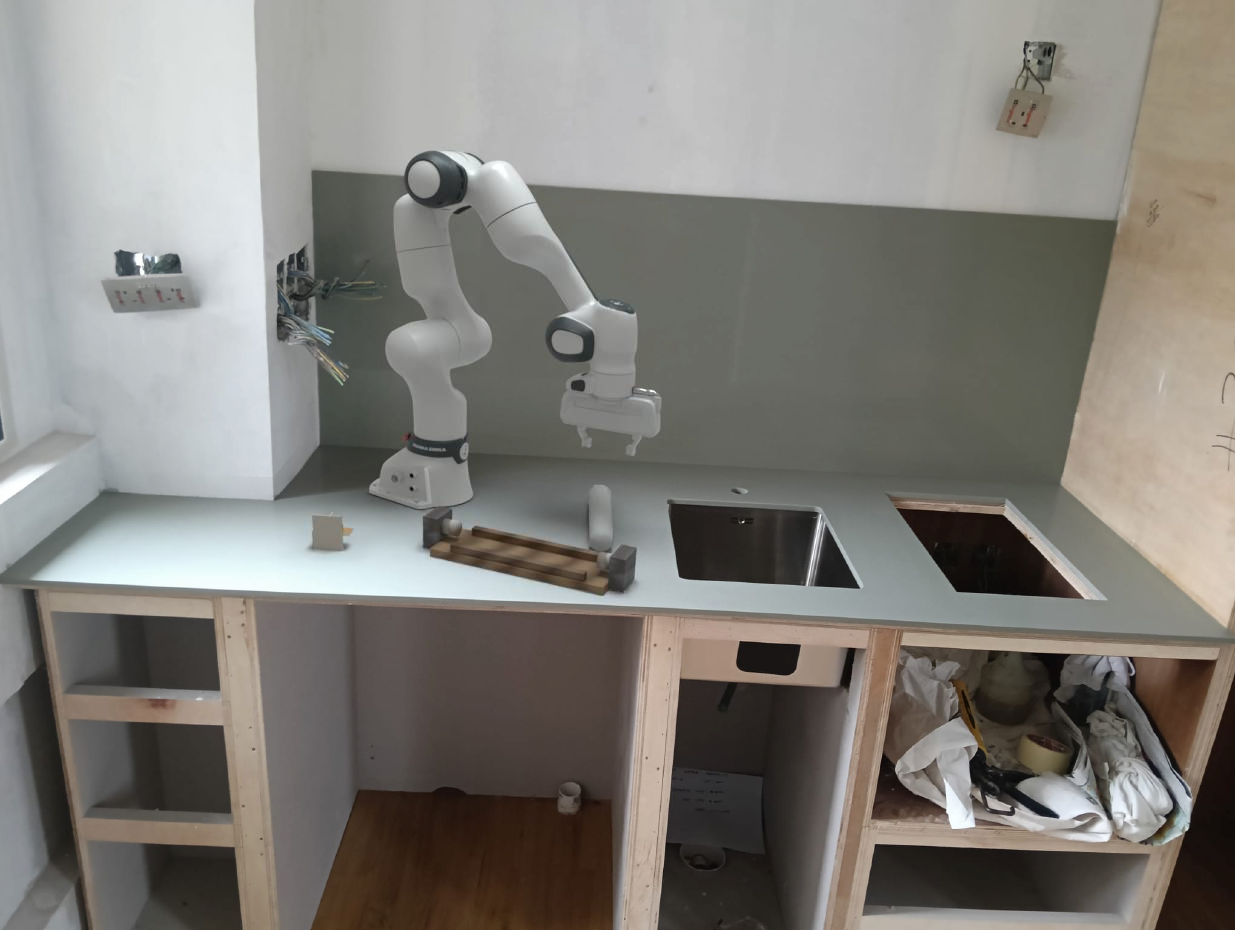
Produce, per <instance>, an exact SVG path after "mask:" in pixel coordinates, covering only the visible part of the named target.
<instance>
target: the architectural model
mask: <svg viewBox="0 0 1235 930" xmlns="http://www.w3.org/2000/svg"><path fill="white" fill-rule="evenodd" d="M333 513H334V512H333V511H332V512H330V513H329V514H328V515H325V514H311V515H312V518H311V520H312V531H311V533H312V534H311V536H312V537H311V538H312V549H313V550H325V551H344V537H350V536H351V534H352V533H353V531H354V527H344V523H343V516H341V515H333Z"/></svg>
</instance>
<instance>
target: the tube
mask: <svg viewBox="0 0 1235 930" xmlns="http://www.w3.org/2000/svg"><path fill="white" fill-rule="evenodd" d="M612 492H613V491H612V490H611V489H610V488H609V487H607V486H606V485H605V484H594V485H592V487H591V488H590V489H589V490H588V492H587V502H588V546H589V547H590V548H592V550H593V551H596V552H606V553H607V552H608V551H609V550H610V549H611V548H612V546H613V545H614V544H613V543H614V525H613V510H612V509H613V508H612V494H613V493H612Z"/></svg>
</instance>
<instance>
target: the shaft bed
mask: <svg viewBox="0 0 1235 930" xmlns="http://www.w3.org/2000/svg"><path fill="white" fill-rule="evenodd" d="M422 549H426V550H429V556H430V557H434V558H438V559H443V560H447V561H452V562H455V563H461V564H465V565H468V566H473V567H477V568H482V569H485V570H486V569H487V570H492V571H494V572H495V571H496V572H501V573H504V574H508V575H513V576H517V577H521V578H524V579H525V578H526V579H530V580H534V581H538V582H539V581H540V582H542V583H548V584H552V585H556V586H561V587H566V588H569V589H573V590H578V591H582V592H587V593H592V594H595V595H600V596H604V594H605V593H607V591H608V590H609V591H613V592H617V593H622V594H624V593H625V592H626V591H627V590H628V588H629V587H630V585H631V584H632V583H633V581H635V579H636V578H635V576H636V574H635V573H636V562H637V550H638V549H637V547H636V546H631V545H628V544H627V545H626V544H620V545H619V546H618V547H617V549H615V550H614V551H613V553H609V552H607V551H606V552H597V551H595V550H593V549H592V550H590V549H587V548H582V547H577V546H572V545H569V544H563V543H558V542H555V541H550V540H545V539H540V538H536V537H535V538H534V537H532V536H531V537H530V536H526V535H521V534H517V533H511V532H507V531H502V530H498V529H493V528H488V527H485V526H480V525H474V526H473V527H471V529H467V528H463V522H462V521H460V520H456V519H453V508H452V507H451V508H450V507H448V506H438V507H434V508H433V509H432V510H430V511H428V512H427V513H426V514H424V515H422Z"/></svg>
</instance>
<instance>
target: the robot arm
mask: <svg viewBox="0 0 1235 930" xmlns="http://www.w3.org/2000/svg"><path fill="white" fill-rule="evenodd" d="M403 178H404V180H403V181H404V187H405V190H406V191H407V194H404V195H402V196H400V198H398V199H397V200H396V202H395V203H394V206H393V237H394V245H395V252H396V257H397V258H396V259H397V263H398V267H399V273H400V279H401V285H402V289H403V290H404V293H406V295H407V296H409V297H410V298H413V299H414V300H416V301H417V302H418V303H419V305H420V306H421V308H422V309H423V311H424V314H425V315H426V319H422V320H416V321H411V322H408V323H406V324H404V325H402V326H400V327H397V328H396V329H394V330H392V331H391V332H390V333H389V334H388V336H387V338H386V341H385V348H384V351H385V357H386V360H387V362H388V364H389V366H390V368H392V370H393V371H395V373H397V374H398V375H400V376H401V377H402V378H403V380H404V381H405V382H406V384H407V386H408V388H409V392H410V395H411V398H412V400H411V401H412V412H413V430H411V431H409V432H407V434H405V435H404V436H402V438H403V439H402V442H406V441H407V444H406V445H405V447H404V448H402V449H401V450H399V451H398V452H396V453H395V454H394V455H391V456H390V457H389V458H388V459H386V461H384V462H383V464H382V465H381V466H382V467H381V470H380V474H379V477H378V478H377V479H375V480H374V481H373V482H372V483H370V485H369V489H368V493H369V494H371V495H373V496H377V497H380V498H383V499H386V500H389V501H392V502H395V503H398V504H401V505H405V506H407V507H410V508H413V509H416V510H424V509H425V510H426V509H430V508H436V507H438V506H442V507H451V506H457V505H461V504H463V503H466V502H468V501H469V500H472V498H473V496H474V491H473V488H472V485H471V484H472V483H471V481H470V474H469V473H470V472H469V466H468V465H469V464H468V458H469V457H468V456H469V432H468V431H467V420H468V419H467V415H468V414H467V412H468V410H467V406H468V405H467V404H468V403H467V399H466V397H465V394H464V393H463V392H461V391H460V390H458V389H457V388H456V387H454V386H453V383H452V380H451V369H452V370H453V369H456V368H460V367H464V366H468V365H471V364H473V363H475V362H477V361H478V360H480V359H482V358H483V357H485V356H486V355H487V354H488V353H489V352H490V350H491V347H492V345H493V344H492V343H493V336H492V331H491V328H490V326H489V324H488V323H487V320H485V319H484V318H483V317H482V316H481V315H479V314H478V313H476V312H475V311H474V310H473V308H472V307H471V305H470V304H469V302H468V300H467V299H466V297H465V295H464V293H463V290H462V288H461V286H460V283H459V278H458V276H457V275H458V274H457V270H456V265H455V260H454V255H453V254H454V253H453V249H452V248H453V247H452V242H451V237H450V230H449V221H450V217H451V216H452V214H455V215H460V214H462V213H464V212H465V211H467V210H469V209H471V208H473V209H474V210H475V211H476V212H477V214H478V215H479V217H480V219H481V221H482V223H483V225H484V227H485V229H486V231H487V232H488V234H489V237H490V238H491V240H492V242H493V244H494V245H495V247H496V248H497V250H498V251H499V252H500V253H501V254H502V256H504V258H506V259H507V260H509V261H510V262H513V263H516V264H520V265H524V266H527V267H529V268H532V269H533V270H537V272H539V273H541V274H542V275H543V276H545V277H546V279H548V280H549V281H550V283H551V284H552V286H553V287H554V289H555V291H556V292H557V294H558V297H560V299H561V301H562V302H563V303H564V306H565V307H566V308H567V310H568V312H566V313H562V314H560V315H558V316H557V317H554V318H553V319H551V321H550V322H549V323H548V325H547V327H546V329H545V334H544V340H545V345H546V348H547V349H548V352H549V353H550V354H551V356H552V357H553V358H554V359H556V360H557V361H559V362H562V363H571V364H572V363H588V364H589V367H590V369H589V370H590V371H586V372H585V371H584V372H580V373H577V374H575V375H573V376H571V377H569V378H568V379H567V380H566V382H565V388H566V389H567V390H566V391H565V392H564V393H563V396H562V398H561V403H560V412H559V415H560V417H559V418H560V419H561V422H562V423H563V424H567V425H573V426H576V432H577V433H578V435H579V438H580V439H581V448H586V449H590V448H591V447H592V441H593V439H592V437H589V436H588V434H587V431H586V430H587V428H590V429H596V430H601V431H609V432H612V433H613V432H614V433H619V434H626V435H631V439H632V440H633V442H632V444H631V443H630V444H627V446H626V447H625V455H626V456H632V457H634V456H635V454H636V450H637V446H638V444H639V443H640V441H641V440H642V438H643V437H645V438H654V437H655V436H656V435H658V434H659V432H660V431H661V411H662V408H663V407H662V405H663V398H662V396H661V395H660V394H659V393H658V392H656V390H654V389H645V388H642V387H635V386H636V385H635V383H636V373H637V372H636V370H637V369H636V363H635V356H636V353H637V349H638V335H639V333H638V328H639V327H638V318H637V312H636V310H635V308H634V306H632V305H630V303H627V302H625V301H622V300H620V299H616V298H602V299H599V297H598V296H597V295H596V294H595V292H594V291H593V289H592V288H591V285H590V284H589V282H588V281H587V279H586V278H585V276H584V274H583V272H582V271H581V270H580V268H579V267H578V265H577V263H576V261H575V260H574V258H573V257H572V255H571V254H570V251H568V250H567V248H566V246H565V244H563V242H562V241H561V239H559V237H558V236H557V235H556V233H555V232H554V231H553V229H552V227H551V225H550V224H549V223H548V221H547V219H546V217H545V215H544V214H543V212H542V210H541V208H540V206H539V204H538V203H537V200H536V199H535V197H534V195H533V194H532V192H531V190H530V188H529V187H528V186H527V184H526V182H525V181H524V180H523V178H522V176H521V175H520V174H519V172H518V171H517V170H516V169H515V168H514V166H513V165H512V164H511V163H509V162H508V161H505V160H501V159H500V160H499V159H498V160H491V161H488V162H484V161H483V159H481V158H480V157H478V156H477V155H475V154H474V153H470V152H462V151H458V150H452V149H444V150H438V151H437V150H427V151H424V152H421V153H418V154H417V155H415V156H413V158H411V160H410V161H409V162H408V163H407V165H406V167H405V170H404V175H403Z"/></svg>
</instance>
